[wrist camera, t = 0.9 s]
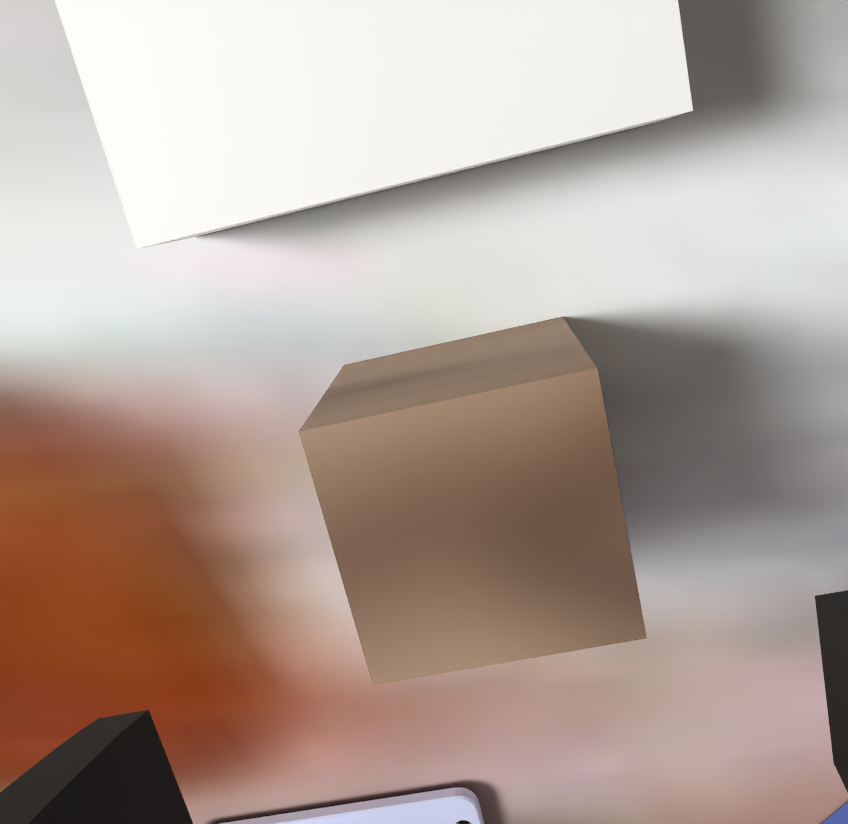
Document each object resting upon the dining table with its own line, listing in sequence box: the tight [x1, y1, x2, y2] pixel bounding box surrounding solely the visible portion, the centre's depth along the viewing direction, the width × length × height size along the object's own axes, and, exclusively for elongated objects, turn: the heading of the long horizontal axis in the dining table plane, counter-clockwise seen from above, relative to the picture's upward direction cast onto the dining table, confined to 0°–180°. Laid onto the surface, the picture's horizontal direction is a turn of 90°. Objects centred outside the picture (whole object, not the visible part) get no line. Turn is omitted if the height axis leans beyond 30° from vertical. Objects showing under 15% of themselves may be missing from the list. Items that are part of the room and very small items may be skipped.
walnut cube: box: [299, 317, 646, 685], centre depth 16 cm, size 5×5×5 cm
